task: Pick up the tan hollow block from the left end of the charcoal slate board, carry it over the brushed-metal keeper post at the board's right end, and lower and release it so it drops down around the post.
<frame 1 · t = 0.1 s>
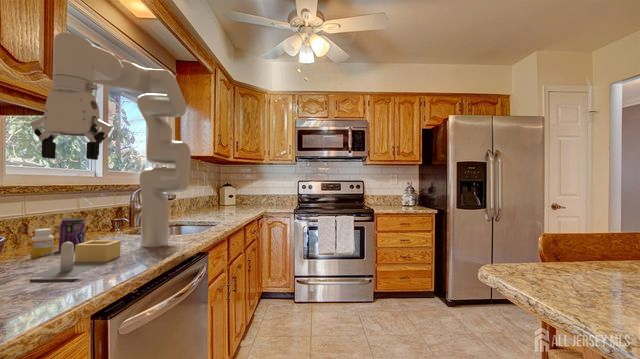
hand: (70, 158, 70), 31 cm above the table, fingers open, 9 cm apart
beverage can: (71, 252, 106), on the table
tan hollow block: (98, 258, 92), point 1 cm above the table, touching keeper board
supplement bottle: (42, 259, 96), on the table
keeper board: (84, 268, 86), on the table
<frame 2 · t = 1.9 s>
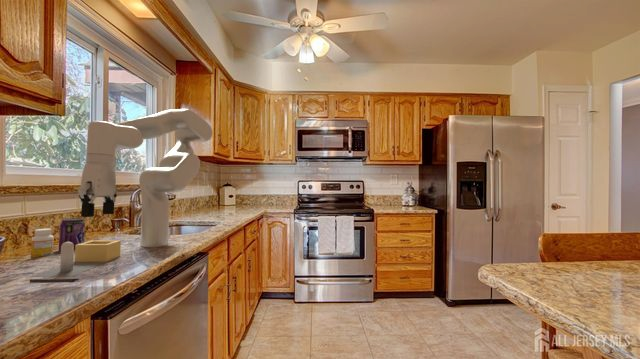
hand: (98, 215, 92), 15 cm above the table, fingers open, 9 cm apart
nothing on the table moved.
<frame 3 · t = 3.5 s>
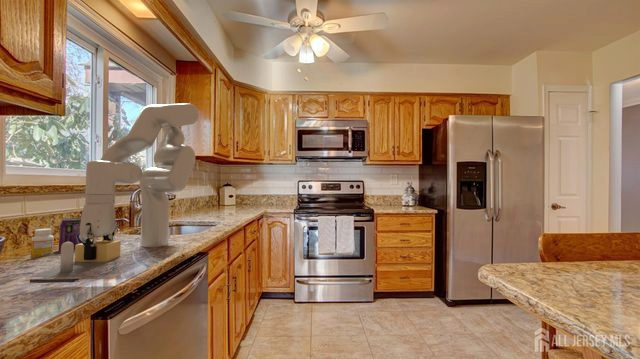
hand: (98, 256, 92), 2 cm above the table, fingers closed on tan hollow block, 7 cm apart
tan hollow block: (98, 258, 92), point 1 cm above the table, touching gripper, keeper board
everything else where it was.
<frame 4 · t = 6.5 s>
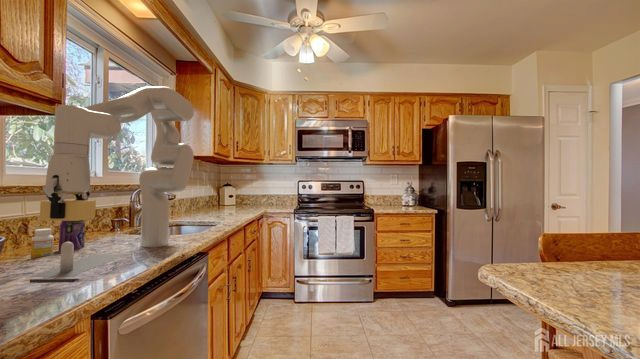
hand: (68, 216, 79), 16 cm above the table, fingers closed on tan hollow block, 7 cm apart
tan hollow block: (68, 219, 79), point 15 cm above the table, touching gripper
everything else where it was.
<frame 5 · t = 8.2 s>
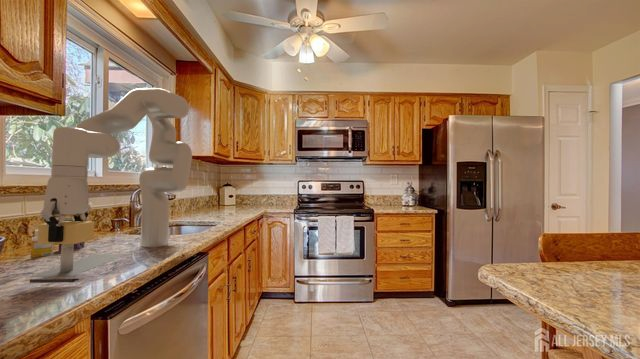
hand: (67, 238, 79), 10 cm above the table, fingers closed on tan hollow block, 7 cm apart
tan hollow block: (66, 241, 79), point 9 cm above the table, touching gripper
everything else where it was.
when the fingers open (6 cm above the table, at t = 9.8 s): tan hollow block drops 3 cm, resting on keeper board.
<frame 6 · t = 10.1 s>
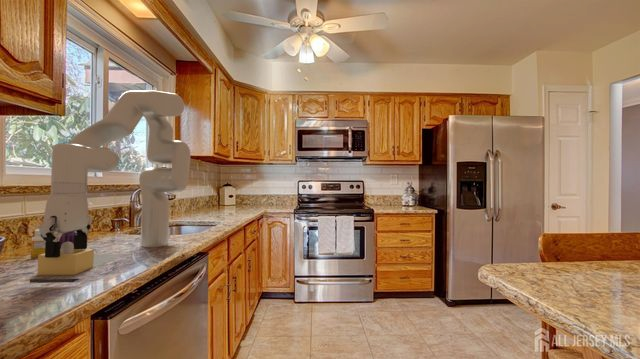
hand: (67, 252, 79), 6 cm above the table, fingers open, 9 cm apart
tan hollow block: (66, 270, 79), point 1 cm above the table, touching keeper board
everything else where it was.
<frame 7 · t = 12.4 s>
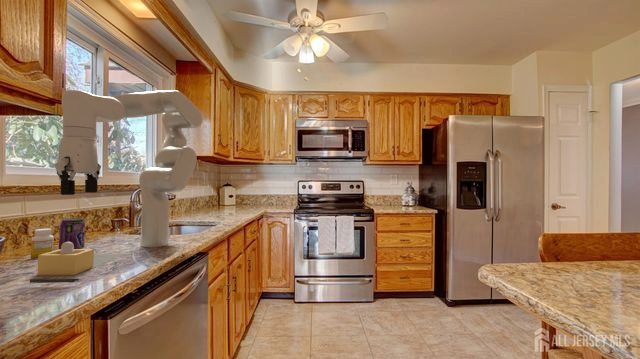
hand: (80, 193, 85), 22 cm above the table, fingers open, 9 cm apart
nothing on the table moved.
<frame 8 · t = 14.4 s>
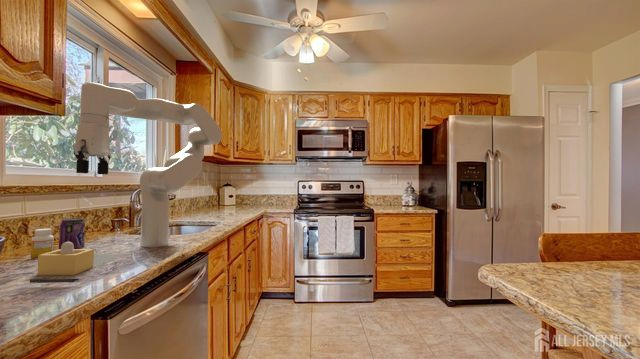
hand: (93, 173, 96), 28 cm above the table, fingers open, 9 cm apart
nothing on the table moved.
at the end: tan hollow block 0.0 cm from the target spot on the keeper board, point 1.5 cm above the keeper board's base; the gripper is holding nothing; tan hollow block tilted 0° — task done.
